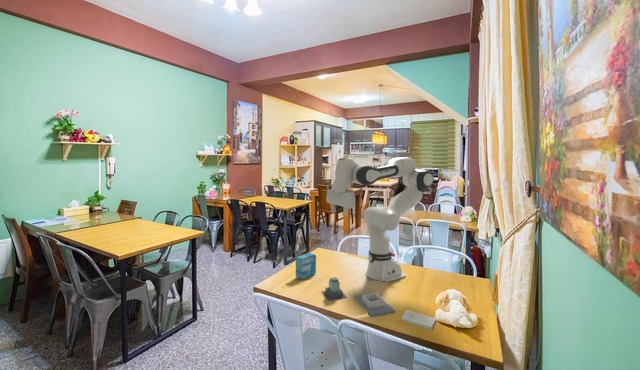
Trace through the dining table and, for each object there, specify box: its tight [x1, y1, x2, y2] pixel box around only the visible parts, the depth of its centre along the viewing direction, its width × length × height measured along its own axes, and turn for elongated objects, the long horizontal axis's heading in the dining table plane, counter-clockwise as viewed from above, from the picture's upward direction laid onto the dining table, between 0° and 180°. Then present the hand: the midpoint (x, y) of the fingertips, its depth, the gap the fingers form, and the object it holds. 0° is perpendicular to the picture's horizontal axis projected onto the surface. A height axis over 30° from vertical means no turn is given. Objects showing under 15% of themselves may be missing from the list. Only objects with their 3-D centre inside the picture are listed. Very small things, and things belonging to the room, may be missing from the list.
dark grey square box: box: [321, 286, 348, 302], centre depth 141 cm, size 10×10×4 cm
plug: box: [328, 276, 341, 293], centre depth 141 cm, size 4×4×8 cm
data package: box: [295, 252, 317, 280], centre depth 165 cm, size 12×4×12 cm, turn 138°
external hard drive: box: [400, 309, 437, 331], centre depth 122 cm, size 2×8×12 cm
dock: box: [352, 292, 396, 318], centre depth 134 cm, size 12×18×4 cm, turn 19°
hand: (338, 214), depth 154 cm, fingers open, 8 cm apart
